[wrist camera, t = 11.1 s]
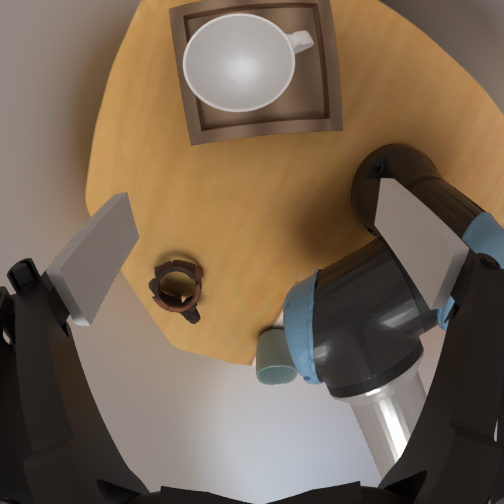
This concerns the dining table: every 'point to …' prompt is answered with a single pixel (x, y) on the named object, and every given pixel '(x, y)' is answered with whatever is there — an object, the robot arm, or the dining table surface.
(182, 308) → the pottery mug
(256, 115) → the tray
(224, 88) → the mug
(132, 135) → the dining table surface
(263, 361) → the cup
